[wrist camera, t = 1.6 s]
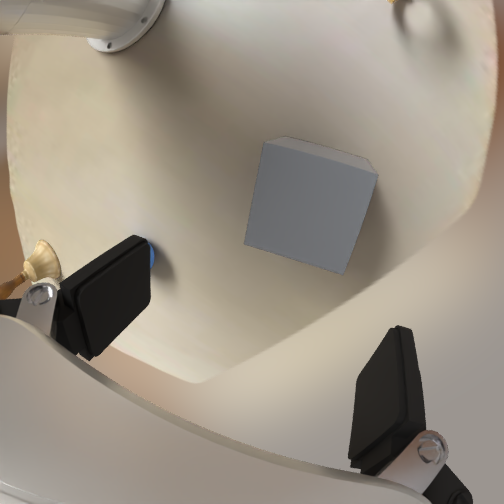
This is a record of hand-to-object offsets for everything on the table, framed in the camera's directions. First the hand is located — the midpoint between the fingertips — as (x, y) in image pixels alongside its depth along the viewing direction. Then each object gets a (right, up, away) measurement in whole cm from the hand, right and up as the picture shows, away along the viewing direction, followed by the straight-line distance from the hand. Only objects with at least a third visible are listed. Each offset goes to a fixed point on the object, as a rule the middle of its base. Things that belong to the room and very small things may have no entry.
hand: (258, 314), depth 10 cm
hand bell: (-40, +1, +36) cm, 53 cm away
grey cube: (+6, +8, +16) cm, 19 cm away
